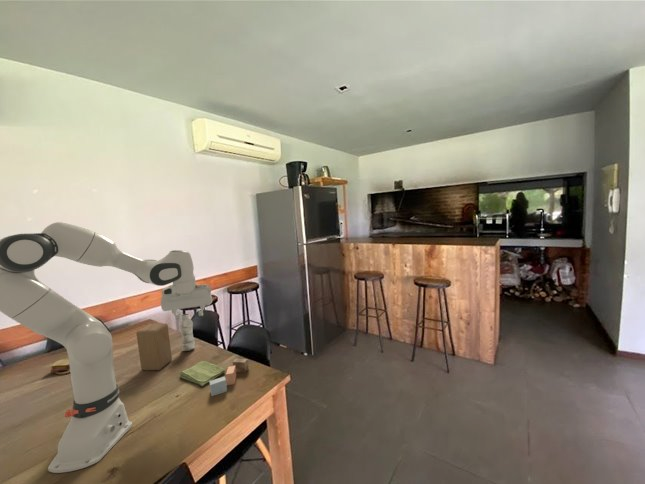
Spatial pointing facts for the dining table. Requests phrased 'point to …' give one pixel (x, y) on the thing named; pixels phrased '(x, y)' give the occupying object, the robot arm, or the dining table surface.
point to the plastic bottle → (187, 333)
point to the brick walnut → (241, 365)
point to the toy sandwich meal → (61, 367)
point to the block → (154, 346)
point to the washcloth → (202, 373)
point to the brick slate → (218, 386)
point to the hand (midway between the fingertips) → (189, 317)
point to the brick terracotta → (231, 375)
